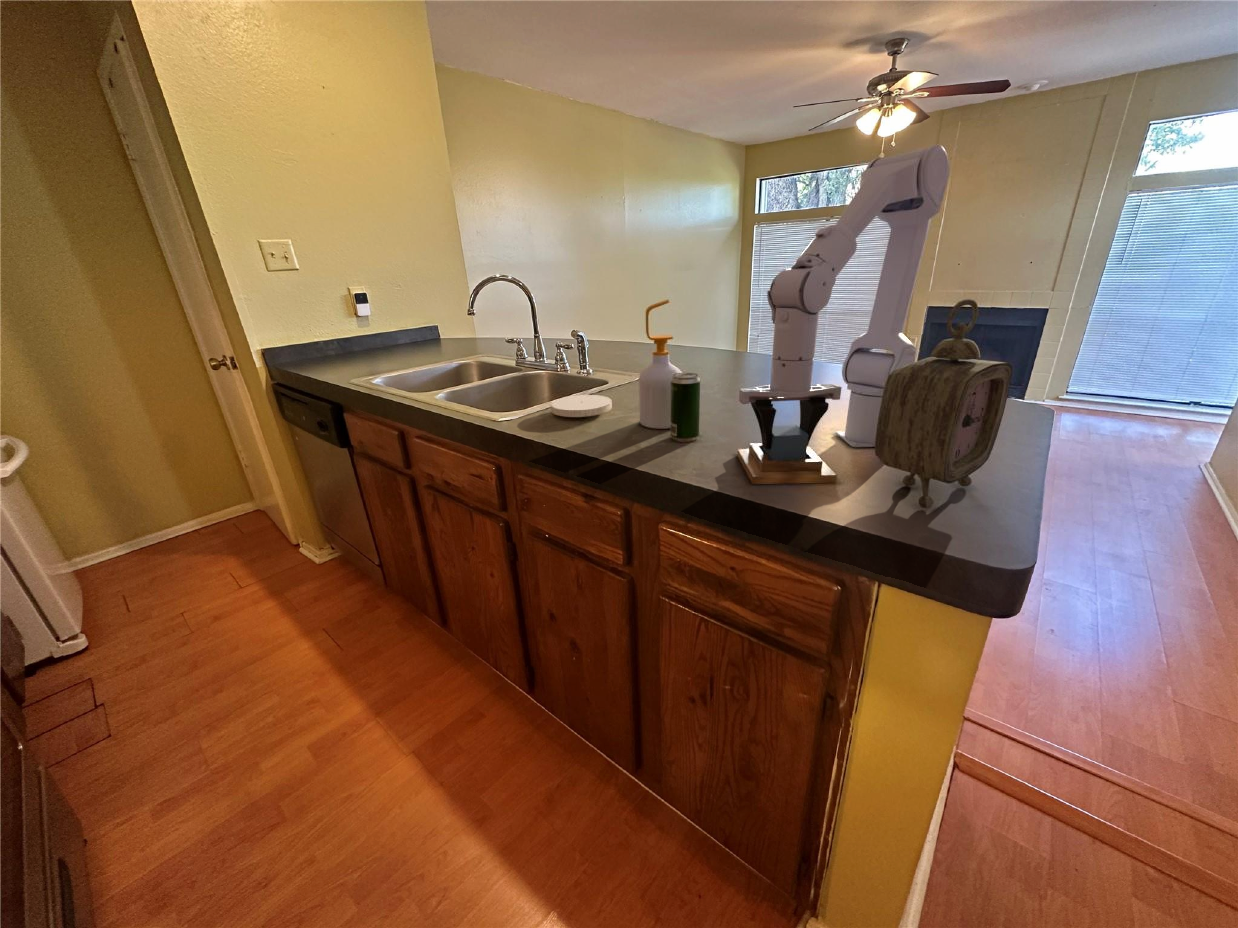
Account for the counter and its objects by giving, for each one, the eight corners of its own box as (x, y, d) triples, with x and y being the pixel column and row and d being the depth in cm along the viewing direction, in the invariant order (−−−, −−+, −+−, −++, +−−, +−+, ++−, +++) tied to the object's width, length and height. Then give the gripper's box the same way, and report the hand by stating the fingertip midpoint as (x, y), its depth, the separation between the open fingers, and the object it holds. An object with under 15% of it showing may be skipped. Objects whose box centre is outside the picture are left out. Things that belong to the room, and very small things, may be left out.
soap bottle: (685, 428, 96) (687, 300, 87) (640, 430, 96) (637, 302, 87) (680, 416, 104) (681, 298, 95) (639, 418, 105) (636, 300, 96)
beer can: (683, 444, 87) (683, 379, 83) (664, 437, 92) (664, 375, 87) (705, 438, 90) (706, 375, 86) (686, 431, 94) (686, 371, 90)
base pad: (808, 453, 80) (810, 438, 79) (835, 482, 69) (838, 465, 68) (737, 455, 81) (737, 440, 80) (752, 484, 70) (753, 467, 69)
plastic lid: (569, 403, 119) (568, 393, 118) (621, 407, 114) (620, 396, 113) (540, 419, 107) (539, 408, 106) (596, 423, 102) (595, 412, 101)
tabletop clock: (931, 517, 59) (979, 304, 49) (861, 493, 66) (892, 302, 56) (984, 487, 66) (1034, 296, 57) (915, 468, 73) (950, 295, 64)
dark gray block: (793, 448, 77) (796, 424, 75) (805, 459, 72) (808, 434, 71) (762, 450, 77) (764, 426, 75) (772, 461, 72) (775, 436, 71)
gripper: (830, 351, 73) (820, 436, 78) (735, 355, 73) (731, 440, 78) (852, 358, 66) (840, 450, 71) (748, 363, 66) (743, 455, 71)
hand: (784, 446), depth 74 cm, fingers closed on dark gray block, 5 cm apart
